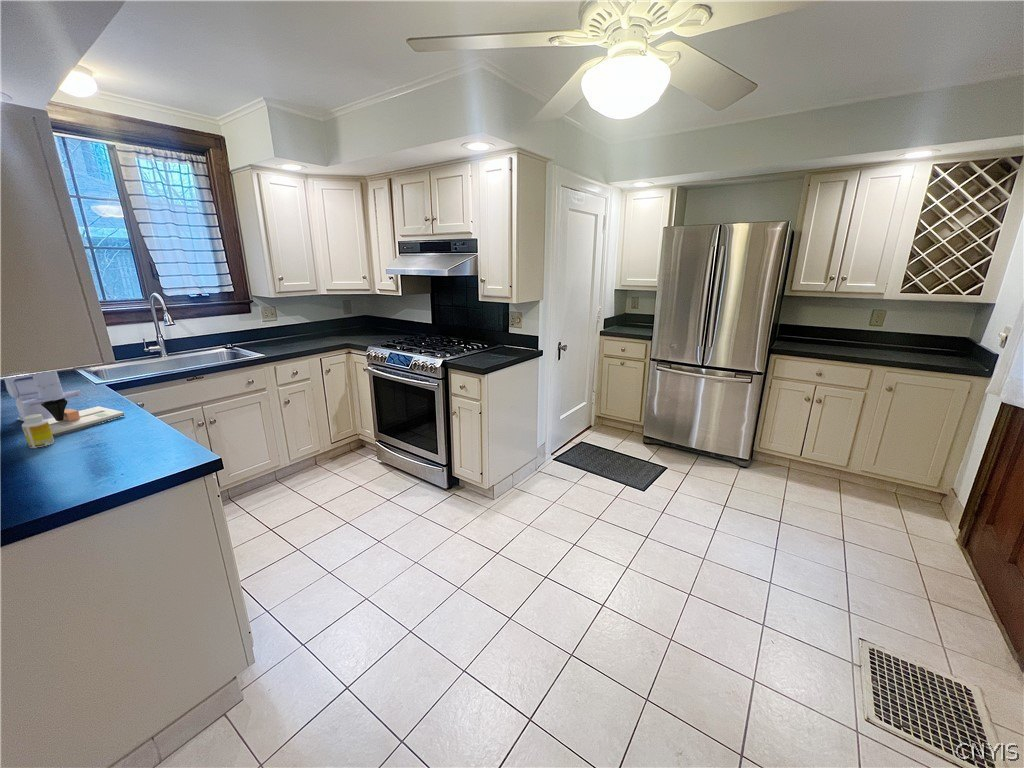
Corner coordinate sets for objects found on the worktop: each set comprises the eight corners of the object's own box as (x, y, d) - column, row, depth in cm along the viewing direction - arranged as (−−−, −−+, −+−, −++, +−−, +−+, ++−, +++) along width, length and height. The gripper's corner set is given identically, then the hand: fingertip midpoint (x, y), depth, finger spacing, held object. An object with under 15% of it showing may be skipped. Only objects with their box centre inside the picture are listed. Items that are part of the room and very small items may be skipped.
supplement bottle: (60, 441, 134) (50, 412, 131) (43, 449, 129) (33, 419, 126) (41, 441, 134) (31, 413, 131) (23, 449, 129) (13, 419, 126)
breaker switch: (62, 421, 147) (58, 411, 145) (73, 418, 149) (69, 408, 148) (70, 423, 145) (66, 413, 144) (81, 420, 148) (77, 410, 147)
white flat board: (28, 429, 143) (26, 423, 142) (99, 410, 161) (98, 405, 160) (54, 436, 138) (52, 431, 137) (125, 416, 156) (123, 411, 155)
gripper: (24, 391, 132) (37, 429, 136) (82, 380, 145) (92, 415, 149) (12, 388, 135) (26, 426, 139) (70, 377, 148) (81, 412, 152)
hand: (59, 420), depth 144 cm, fingers closed
